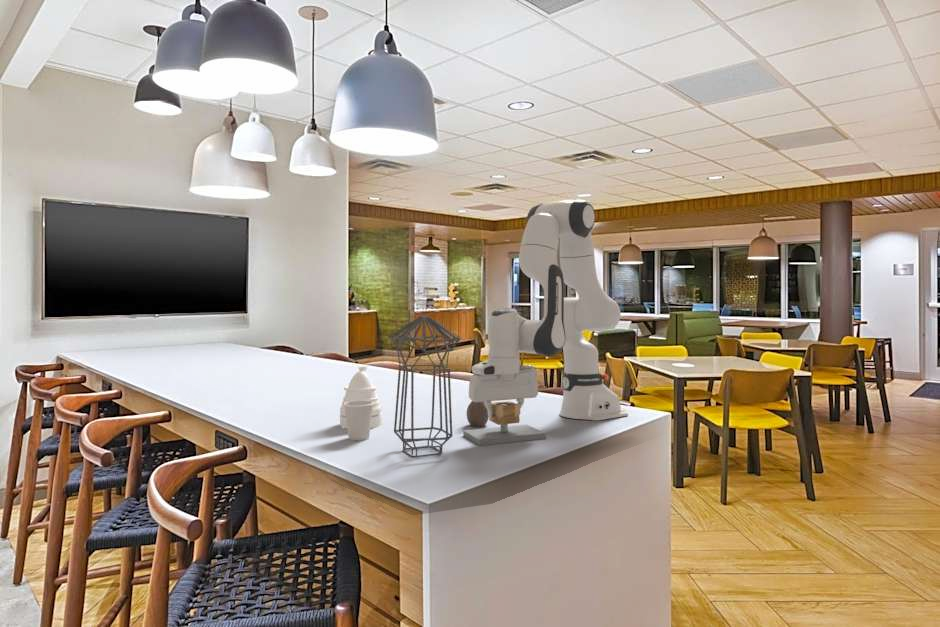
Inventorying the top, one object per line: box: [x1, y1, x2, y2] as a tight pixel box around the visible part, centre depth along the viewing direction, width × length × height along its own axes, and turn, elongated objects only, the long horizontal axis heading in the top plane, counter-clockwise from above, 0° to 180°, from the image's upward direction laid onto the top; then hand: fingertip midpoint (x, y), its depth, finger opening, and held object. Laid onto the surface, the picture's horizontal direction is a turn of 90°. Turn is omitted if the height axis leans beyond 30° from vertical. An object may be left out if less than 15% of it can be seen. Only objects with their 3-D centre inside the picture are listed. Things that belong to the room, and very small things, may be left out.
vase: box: [466, 400, 489, 428], centre depth 183 cm, size 7×7×9 cm
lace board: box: [462, 423, 547, 446], centre depth 167 cm, size 20×12×9 cm, turn 112°
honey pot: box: [339, 365, 383, 430], centre depth 184 cm, size 13×13×18 cm
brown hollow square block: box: [488, 400, 520, 426], centre depth 167 cm, size 6×6×5 cm
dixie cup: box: [343, 400, 374, 441], centre depth 167 cm, size 8×8×10 cm
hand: (504, 415), depth 167 cm, fingers open, 6 cm apart
